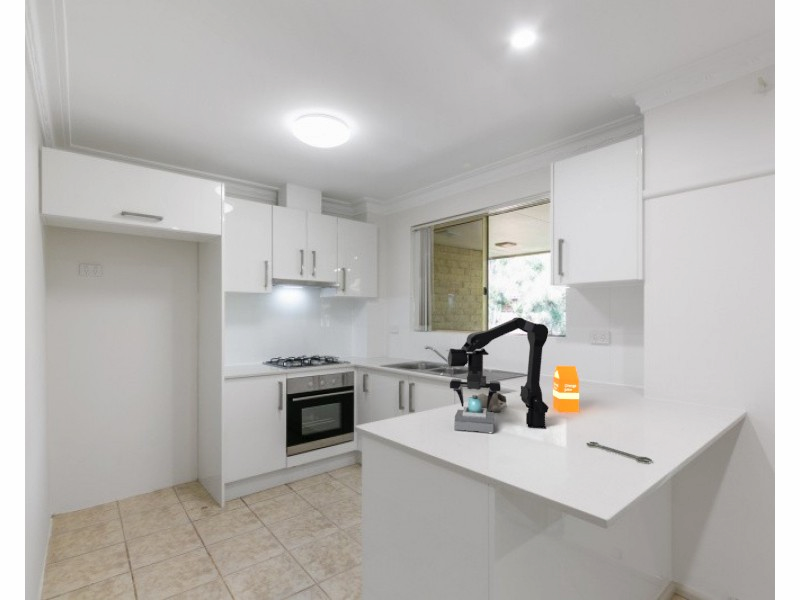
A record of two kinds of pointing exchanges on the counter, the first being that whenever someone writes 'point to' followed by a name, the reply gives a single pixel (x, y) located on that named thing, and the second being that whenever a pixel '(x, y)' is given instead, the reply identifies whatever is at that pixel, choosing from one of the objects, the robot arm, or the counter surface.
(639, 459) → the wrench
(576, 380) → the orange juice
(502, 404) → the pipe
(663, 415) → the counter surface
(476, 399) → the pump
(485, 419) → the square aluminium tube flange
